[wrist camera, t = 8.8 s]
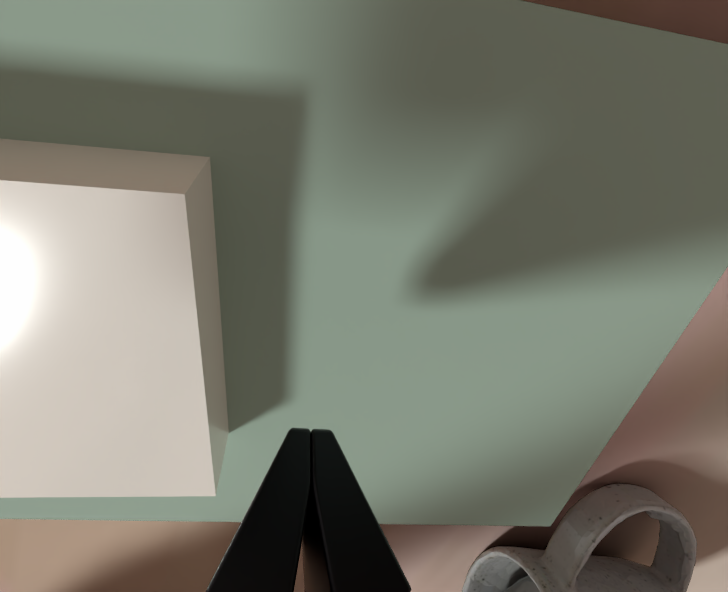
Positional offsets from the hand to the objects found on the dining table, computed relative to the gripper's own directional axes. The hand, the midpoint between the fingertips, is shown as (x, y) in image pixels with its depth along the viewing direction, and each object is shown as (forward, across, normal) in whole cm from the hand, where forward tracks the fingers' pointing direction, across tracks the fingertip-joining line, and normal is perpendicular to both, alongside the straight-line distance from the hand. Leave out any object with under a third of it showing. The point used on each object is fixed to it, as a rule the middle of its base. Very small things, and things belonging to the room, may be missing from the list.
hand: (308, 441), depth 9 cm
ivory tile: (+3, +5, 0) cm, 6 cm away
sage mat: (+4, 0, 0) cm, 4 cm away
